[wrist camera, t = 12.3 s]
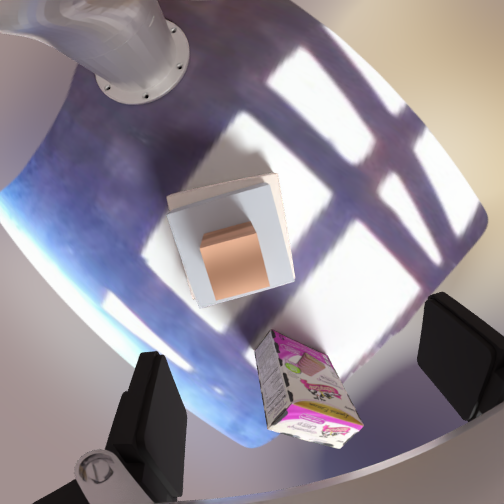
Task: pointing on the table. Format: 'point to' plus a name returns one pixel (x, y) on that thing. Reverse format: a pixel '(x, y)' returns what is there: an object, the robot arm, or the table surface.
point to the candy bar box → (304, 393)
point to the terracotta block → (234, 260)
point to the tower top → (222, 216)
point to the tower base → (224, 187)
